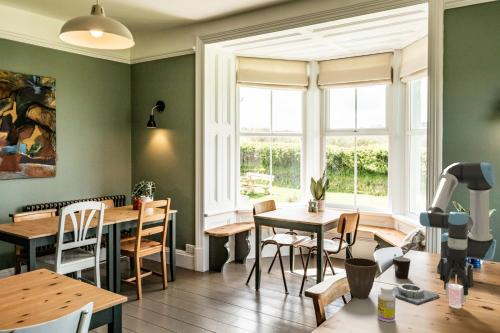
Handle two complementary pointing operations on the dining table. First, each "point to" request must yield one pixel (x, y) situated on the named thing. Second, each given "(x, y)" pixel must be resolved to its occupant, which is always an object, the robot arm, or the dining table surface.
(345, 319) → the dining table surface
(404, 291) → the sleeve block
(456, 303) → the beverage cup
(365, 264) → the plant pot
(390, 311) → the supplement bottle
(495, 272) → the dining table surface
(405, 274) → the coffee mug
